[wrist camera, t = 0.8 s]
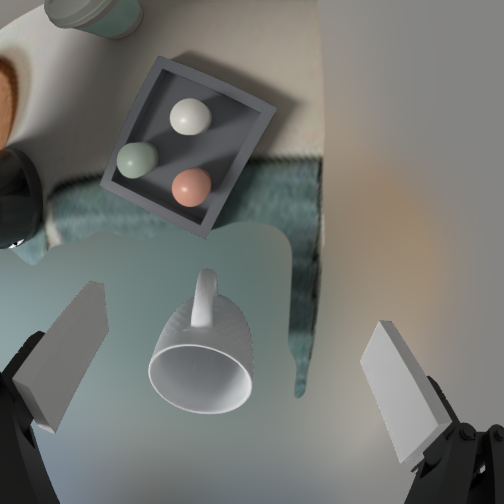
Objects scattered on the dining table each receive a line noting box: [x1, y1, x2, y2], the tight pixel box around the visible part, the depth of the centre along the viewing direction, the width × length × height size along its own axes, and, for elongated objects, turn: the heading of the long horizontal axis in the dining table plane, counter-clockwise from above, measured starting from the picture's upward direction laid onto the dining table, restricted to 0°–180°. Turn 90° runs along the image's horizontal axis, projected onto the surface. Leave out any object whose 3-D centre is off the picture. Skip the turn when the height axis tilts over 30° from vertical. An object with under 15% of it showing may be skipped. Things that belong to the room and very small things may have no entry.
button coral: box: [172, 167, 213, 207], centre depth 29 cm, size 4×4×3 cm
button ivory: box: [170, 98, 212, 135], centre depth 26 cm, size 4×4×3 cm
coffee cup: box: [44, 0, 143, 39], centre depth 19 cm, size 9×9×12 cm
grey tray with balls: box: [100, 56, 277, 240], centre depth 30 cm, size 14×16×3 cm
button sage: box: [117, 142, 159, 178], centre depth 28 cm, size 4×4×3 cm
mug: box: [149, 269, 254, 414], centre depth 33 cm, size 15×11×13 cm
